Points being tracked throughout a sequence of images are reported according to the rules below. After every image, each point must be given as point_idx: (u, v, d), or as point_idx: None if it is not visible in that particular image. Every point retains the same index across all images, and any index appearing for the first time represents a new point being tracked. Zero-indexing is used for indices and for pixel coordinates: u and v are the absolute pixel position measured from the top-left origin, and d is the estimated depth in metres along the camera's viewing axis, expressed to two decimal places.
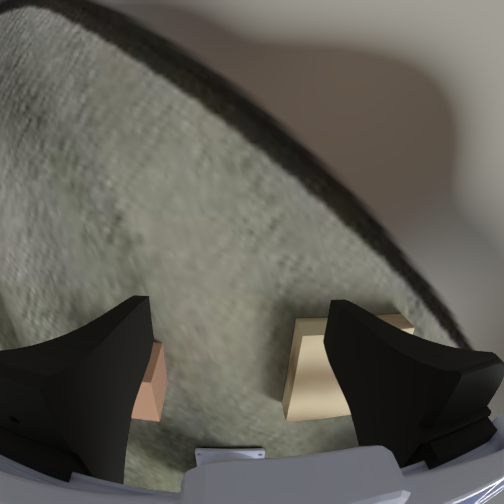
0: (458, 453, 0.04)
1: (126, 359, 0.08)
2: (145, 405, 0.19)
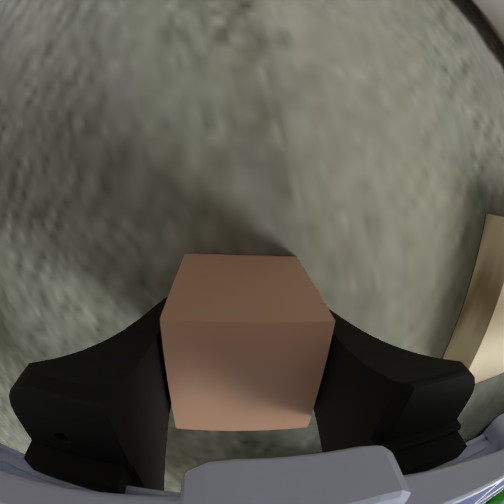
0: (418, 470, 0.04)
1: None
2: (291, 393, 0.08)
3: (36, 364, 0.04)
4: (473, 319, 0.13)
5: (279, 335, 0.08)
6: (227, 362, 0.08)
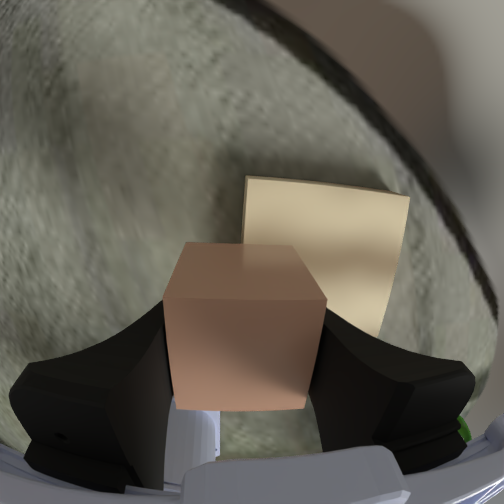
0: (418, 470, 0.04)
1: (165, 363, 0.08)
2: (287, 371, 0.09)
3: (36, 364, 0.04)
4: None
5: (274, 312, 0.08)
6: (226, 339, 0.08)
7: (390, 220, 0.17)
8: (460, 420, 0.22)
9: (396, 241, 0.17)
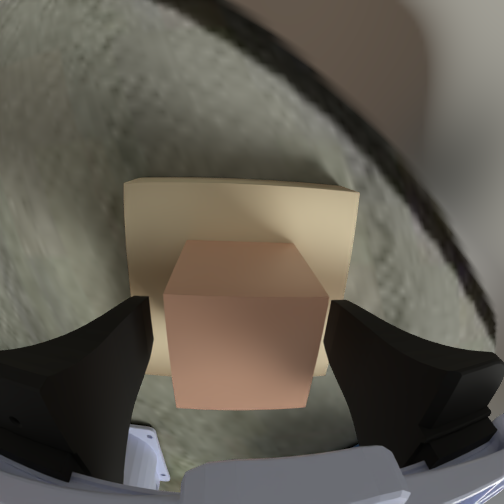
0: (458, 453, 0.04)
1: (126, 359, 0.08)
2: (288, 370, 0.09)
3: None
4: None
5: (276, 310, 0.08)
6: (227, 337, 0.08)
7: (330, 227, 0.13)
8: None
9: (341, 255, 0.13)
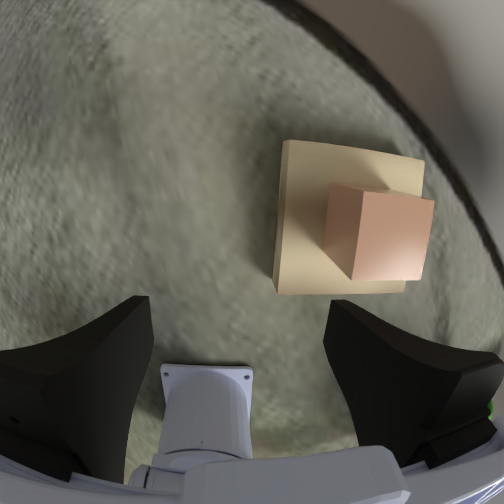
0: (458, 453, 0.04)
1: (126, 359, 0.08)
2: (415, 247, 0.14)
3: None
4: (279, 228, 0.20)
5: (413, 205, 0.14)
6: (390, 220, 0.14)
7: (409, 180, 0.18)
8: None
9: None
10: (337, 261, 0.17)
